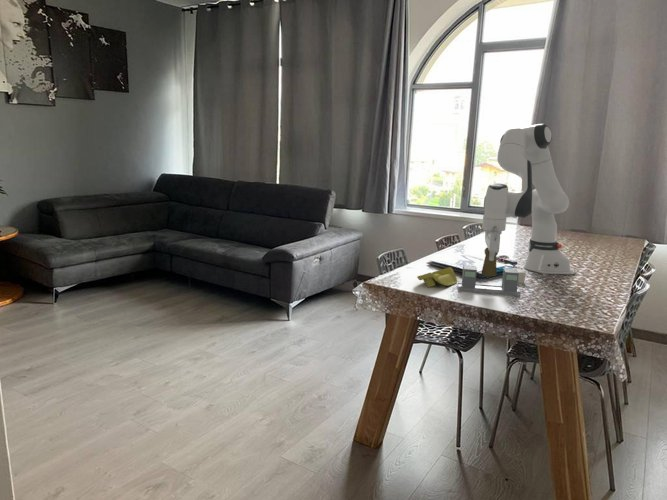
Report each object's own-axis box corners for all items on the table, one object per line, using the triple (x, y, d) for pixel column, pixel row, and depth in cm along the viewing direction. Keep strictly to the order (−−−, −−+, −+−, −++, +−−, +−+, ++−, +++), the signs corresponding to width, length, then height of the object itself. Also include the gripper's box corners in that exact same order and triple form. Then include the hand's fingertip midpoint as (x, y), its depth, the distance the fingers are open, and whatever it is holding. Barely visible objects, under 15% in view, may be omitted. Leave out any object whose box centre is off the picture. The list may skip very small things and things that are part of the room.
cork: (497, 273, 201) (500, 247, 199) (496, 276, 196) (498, 249, 193) (482, 271, 204) (484, 245, 201) (480, 274, 198) (483, 248, 196)
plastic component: (433, 272, 220) (453, 266, 214) (438, 287, 219) (458, 282, 214) (412, 277, 205) (433, 271, 199) (418, 294, 204) (439, 289, 198)
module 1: (474, 284, 205) (475, 265, 204) (475, 289, 198) (476, 270, 197) (461, 283, 206) (463, 264, 205) (462, 288, 199) (464, 269, 198)
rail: (517, 291, 202) (518, 286, 202) (520, 296, 195) (520, 291, 195) (457, 286, 207) (458, 282, 207) (458, 291, 200) (458, 286, 200)
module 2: (514, 287, 202) (516, 268, 200) (516, 292, 195) (518, 273, 193) (501, 286, 203) (503, 267, 201) (503, 291, 196) (505, 272, 194)
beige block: (519, 280, 219) (520, 269, 218) (524, 283, 214) (525, 272, 213) (510, 280, 219) (511, 269, 218) (515, 283, 214) (516, 272, 213)
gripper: (505, 230, 185) (501, 265, 188) (499, 221, 204) (496, 254, 207) (487, 228, 186) (484, 264, 189) (483, 220, 206) (480, 252, 209)
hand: (490, 258), depth 198 cm, fingers closed on cork, 4 cm apart
